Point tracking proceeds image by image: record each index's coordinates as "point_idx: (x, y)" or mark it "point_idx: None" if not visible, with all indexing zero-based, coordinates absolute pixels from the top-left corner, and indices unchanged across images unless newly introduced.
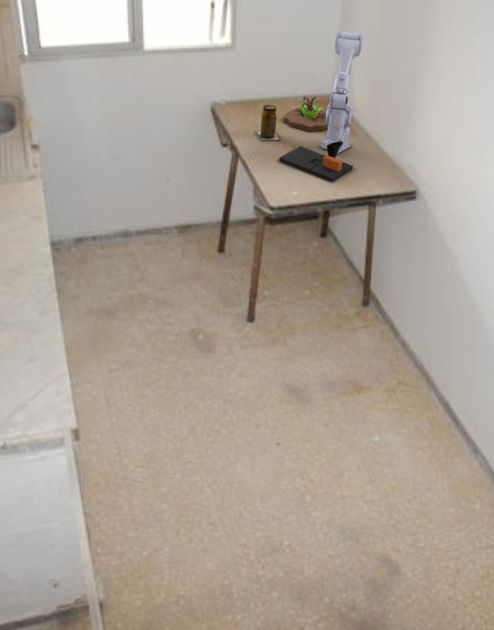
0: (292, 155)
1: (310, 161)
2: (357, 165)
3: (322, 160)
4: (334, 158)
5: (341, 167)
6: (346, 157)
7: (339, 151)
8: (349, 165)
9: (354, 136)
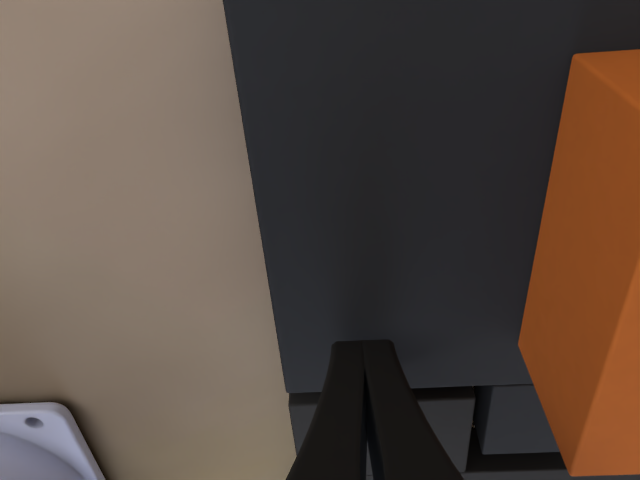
0: None
1: None
2: (17, 11)
3: (454, 412)
4: (637, 343)
5: (611, 68)
6: (12, 291)
7: (13, 415)
8: (273, 53)
9: None
